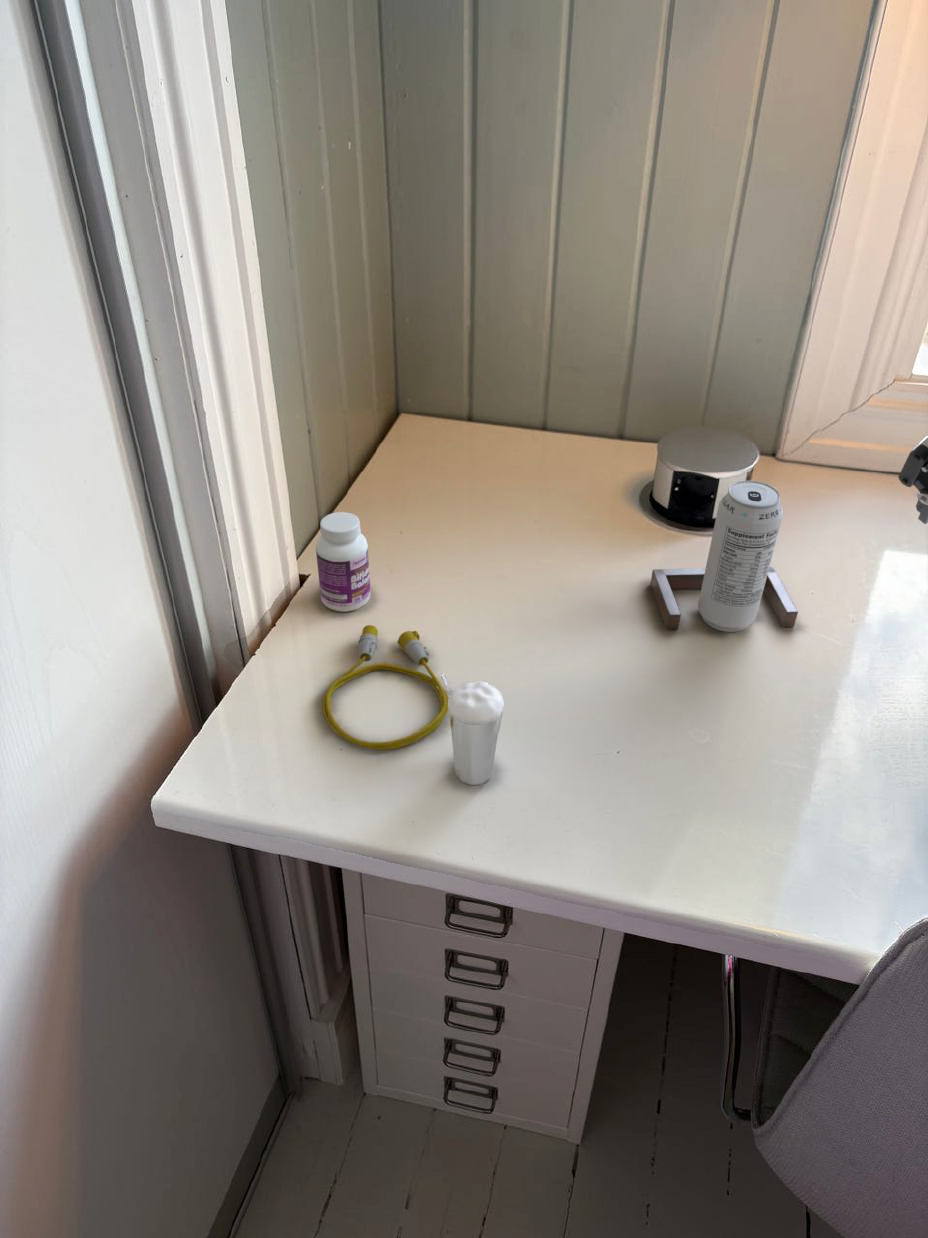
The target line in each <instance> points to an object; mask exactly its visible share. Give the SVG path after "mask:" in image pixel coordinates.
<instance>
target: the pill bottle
mask: <svg viewBox="0 0 928 1238" xmlns="http://www.w3.org/2000/svg"><path fill="white" fill-rule="evenodd" d="M319 523H320V524H319V525H320V527H319V528H320V536H319V538H318V539H317V540H316V544H315V554H316V555H315V556H316V564H317V573H318V583H319V585H318V586H319V593H320V600H321V602H322V604H323V605H324V606H325V607H326V608H328V609H330V610H332V611H336V612H345V613H346V612H352V611H356V610H359V609H360V608H362V607H363V606H365V605H366V604H367V603H368V602H369V601H370V598H371V580H370V579H371V576H370V560H369V559H370V557H369V545H368V541H367V538H366V536H364V534H363V533H361V531H362V529H361V523H360V519H359V517H358V516H357V515H355V514H354V513H350V512H345V511H338V512H337V511H336V512H332V513H329V514H327V515H325V516H324V517H323V518H321V520H320V522H319Z"/></svg>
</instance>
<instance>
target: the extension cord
mask: <svg viewBox="0 0 928 1238" xmlns="http://www.w3.org/2000/svg"><path fill="white" fill-rule="evenodd" d="M378 633H379V630H378V628H377V627H376V626H375V625H373V624H368V625H365V626H364V627H363V628H362V631H361V635H360V636H359V639H358V653H359V655H358V656H359V661H358V662H357V663H355V665H352V667H351V668H349V669H348V670H347V671H346V672H345V673H343V674H342V676H340V677H338V678H337V679H335V680H334V681H333V682H332V683H331V684H330V685H329V688H328V689H327V691H326V692H325V693H324V696H323V699H322V711H323V715H324V718H325V720H326V722H327V724H328V725H329V727H330V728H331V729H332V730H333V731H334V732H335V734H337V735H339V736H340V737H341V738H342V739H344V740H346V741H348V742H350V743H351V744H354V745H356V746H358V747H362V748H363V747H364V748H367V749H373V750H382V751H383V750H394V749H400V748H402V747H405V746H408V745H411V744H413V743H415V742H418V741H419V740H421V739H423V738H425V737H426V736H428V735H430V734H432V733H433V732H434V731H436V730H437V729H438V728H439V727H440V725H441V724H442V722H443V719H444V718H445V716H446V715H447V714H448V713H449V710H448V699H449V694H448V692H447V690H446V688H444V687H443V685H442V684H441V683H440V681H439V680H438V678H437V677H436V674H435V673H434V672H433V671H432V669H431V668H430V666H429V664H428V663H429V657H430V654H429V652H428V651H427V650H426V649H427V647H426V646H424V645H423V643H422V642H421V641H420V637H421V635H420V634H419V632H418V631H417V630H412V631H411V630H406V631H404V632H402V633H401V634H400V635H399V637H398V640H397V642H396V643H397V644H398V646H399V647H400V648H401V651H403V653H404V654H406V655H407V657H408V658H410V659H411V660H412V661H413V662H415V664H417V666H419V667H424V669H426V671H427V673H428V674H429V675H427V674H426V673H423V672H422V671H418V670H415V669H414V668H413V669H412V668H409V667H404V666H401V665H396V664H391V663H380V662H379V663H373V664H369V665H365V666H363V667H361V665H362V664H363V663H364V662H370V661H371V660H372V656H373V655H374V653H375V651H376V650H377V645H378ZM359 667H361V668H359ZM378 670H379V671H380V670H383V671H392V672H396V673H397V672H398V673H402V674H404V675H407V676H411V677H413V678H416V679H419V680H420V681H423V682H425V683H427V684H428V685H430V686H431V688H433V690H434V691H435V692H436V695H437V697H438V699H439V700H438V701H439V706H440V708H439V713H438V714H437V715H436V716H435V718H433V720H431V721H430V722H429V723H428V724H427V725H425V726H424V727H422V728H421V729H419V730H418V731H416V732H414V733H411V734H409V735H407V736H405V737H402V738H398V739H394V740H390V741H389V740H388V741H382V742H377V741H365V740H360V739H358V738H355V737H353V736H351V734H348V733H347V732H346V731H345V730H343V728H342V727H341V726H340V725H339V724H338V723H337V721H336V720H335V718H334V716H333V714H332V695H333V694H334V692H335V691H336V690H337V689H338V688H340V687H341V686H343V685H344V684H345V683H347V682H349V681H352V680H353V679H355V678H358V677H360V676H363V675H365V674H368V673H370V672H374V671H378Z"/></svg>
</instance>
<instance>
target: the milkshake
mask: <svg viewBox="0 0 928 1238" xmlns="http://www.w3.org/2000/svg"><path fill="white" fill-rule="evenodd" d="M440 677H441V679H442V683H443V684H444V687H445V690H446V692H447V694H448V698H449V699H448V716H449V717H448V718H449V725H450V731H451V733H450V734H451V743H452V752H453V753H452V754H453V755H452V756H453V765H454V773H455V775H456V776H457V778H458V779H459V781H460V782H462V783H464V784H468V785H470V786H475V785H477V786H478V785H483V784H485V783H486V782H487V781H489V780H491V778H492V777H493V770H494V764H495V757H496V750H497V743H498V737H499V732H500V728H501V724H502V718H503V713H504V707H505V701H504V698H503V695H502V693H501V692H500V691H499V689H498V688H496V687H495V686H493V685H490V683H489V684H488V683H487V682H486V681H483V680H477V681H474V682H465V683H463V684H461V685H458V686H457V687H456V688H455V689H454V690H453V691H452V688H451V686H450V684H449V682H448V680H447V677H446V675H445V672H442V673H441V674H440Z"/></svg>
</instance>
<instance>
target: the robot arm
mask: <svg viewBox="0 0 928 1238" xmlns="http://www.w3.org/2000/svg"><path fill="white" fill-rule="evenodd" d="M898 480H899V481H900V483H901V484H902V486H903V485H904V486H905V487H907V488H912V487H913V486H914V488H916V489H917V491H918V492H917V493H916V498H917V499H918V500H917V503H916V505H915V509H916V511H917V512H918V513H919V515H918V517H917V519H918V520H919V521H920V522H921V523H923V524H924V525H927V524H928V435H926V437H924V438H923V439H922V440H921V441H920V442H919V443H918V444H917V445H916V446H915V447H914V448H913V449H912V450H911V451H910V452H909V454H908V455H907V458H906V460H905V462H904V464H903V467H902V469H901V471H900V473H899V474H898Z"/></svg>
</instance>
